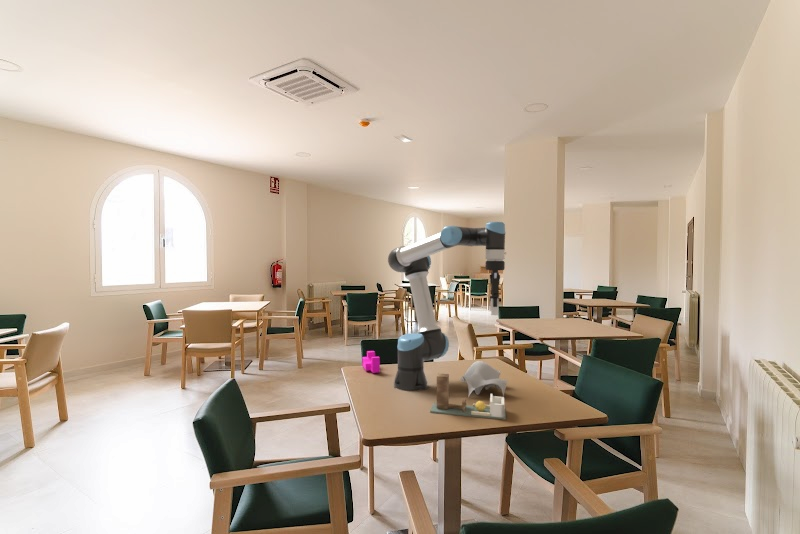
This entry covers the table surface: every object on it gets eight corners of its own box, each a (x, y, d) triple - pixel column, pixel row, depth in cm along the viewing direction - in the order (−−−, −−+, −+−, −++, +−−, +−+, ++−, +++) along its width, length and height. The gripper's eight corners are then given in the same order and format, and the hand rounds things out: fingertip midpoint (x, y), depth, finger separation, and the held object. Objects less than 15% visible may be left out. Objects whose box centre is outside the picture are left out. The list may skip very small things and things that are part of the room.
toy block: (362, 365, 213) (362, 351, 213) (373, 364, 215) (373, 350, 215) (367, 373, 199) (367, 358, 198) (379, 372, 200) (379, 357, 200)
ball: (475, 412, 146) (475, 402, 146) (475, 408, 149) (475, 399, 149) (485, 413, 145) (485, 403, 145) (485, 409, 148) (485, 400, 148)
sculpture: (511, 399, 162) (511, 375, 162) (465, 398, 162) (465, 375, 162) (497, 380, 187) (497, 359, 187) (457, 380, 187) (457, 359, 187)
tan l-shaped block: (436, 408, 148) (436, 376, 148) (438, 403, 154) (438, 372, 153) (464, 411, 146) (464, 378, 145) (466, 406, 151) (466, 374, 151)
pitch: (430, 412, 147) (430, 408, 147) (434, 403, 156) (434, 399, 156) (505, 419, 140) (505, 415, 140) (505, 410, 149) (505, 406, 149)
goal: (489, 416, 142) (489, 401, 142) (490, 407, 150) (490, 393, 150) (504, 417, 141) (504, 402, 141) (504, 408, 149) (504, 394, 149)
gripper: (506, 260, 147) (505, 317, 148) (503, 260, 172) (502, 309, 172) (485, 260, 149) (485, 316, 149) (485, 260, 173) (484, 308, 174)
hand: (494, 312), depth 161 cm, fingers open, 13 cm apart
